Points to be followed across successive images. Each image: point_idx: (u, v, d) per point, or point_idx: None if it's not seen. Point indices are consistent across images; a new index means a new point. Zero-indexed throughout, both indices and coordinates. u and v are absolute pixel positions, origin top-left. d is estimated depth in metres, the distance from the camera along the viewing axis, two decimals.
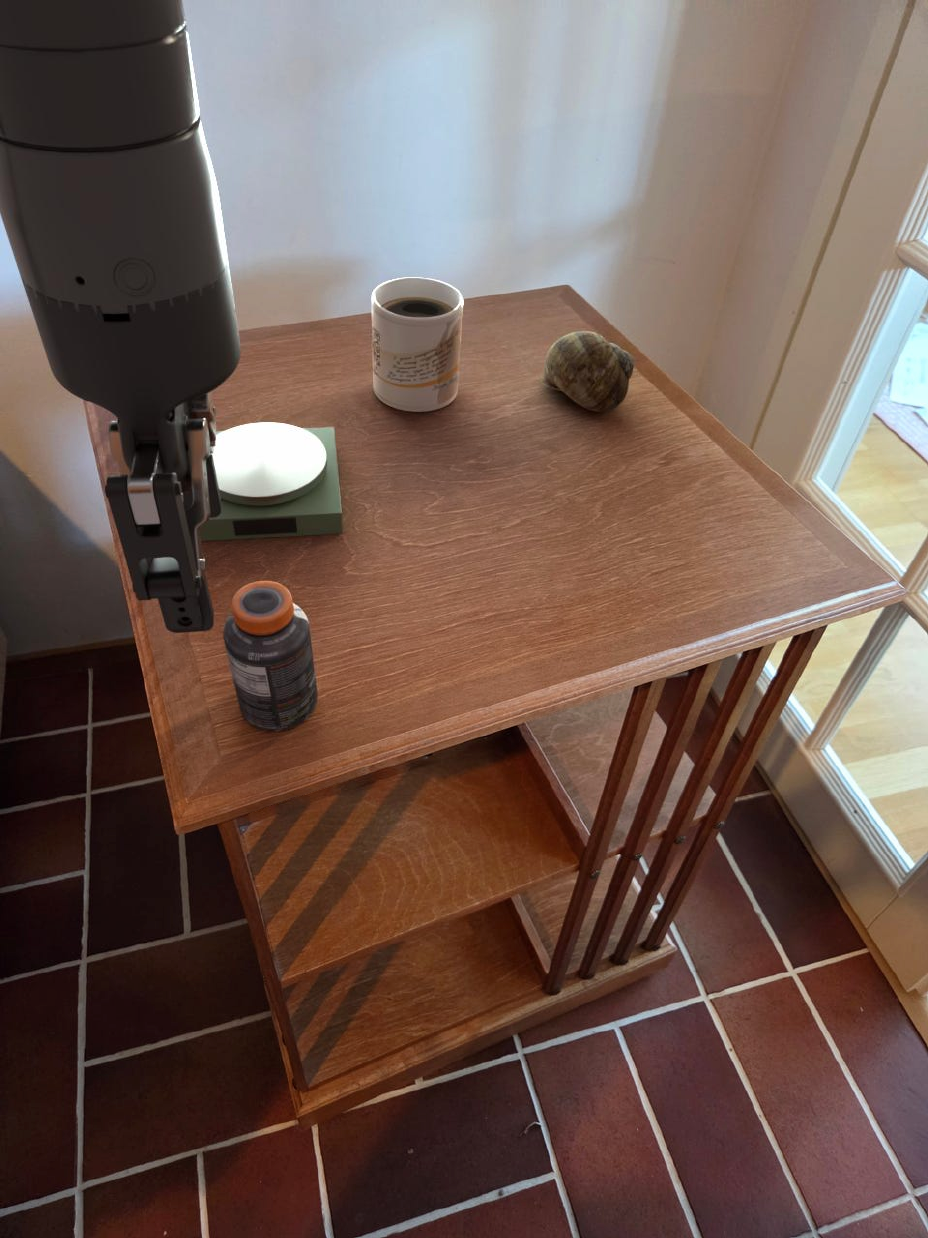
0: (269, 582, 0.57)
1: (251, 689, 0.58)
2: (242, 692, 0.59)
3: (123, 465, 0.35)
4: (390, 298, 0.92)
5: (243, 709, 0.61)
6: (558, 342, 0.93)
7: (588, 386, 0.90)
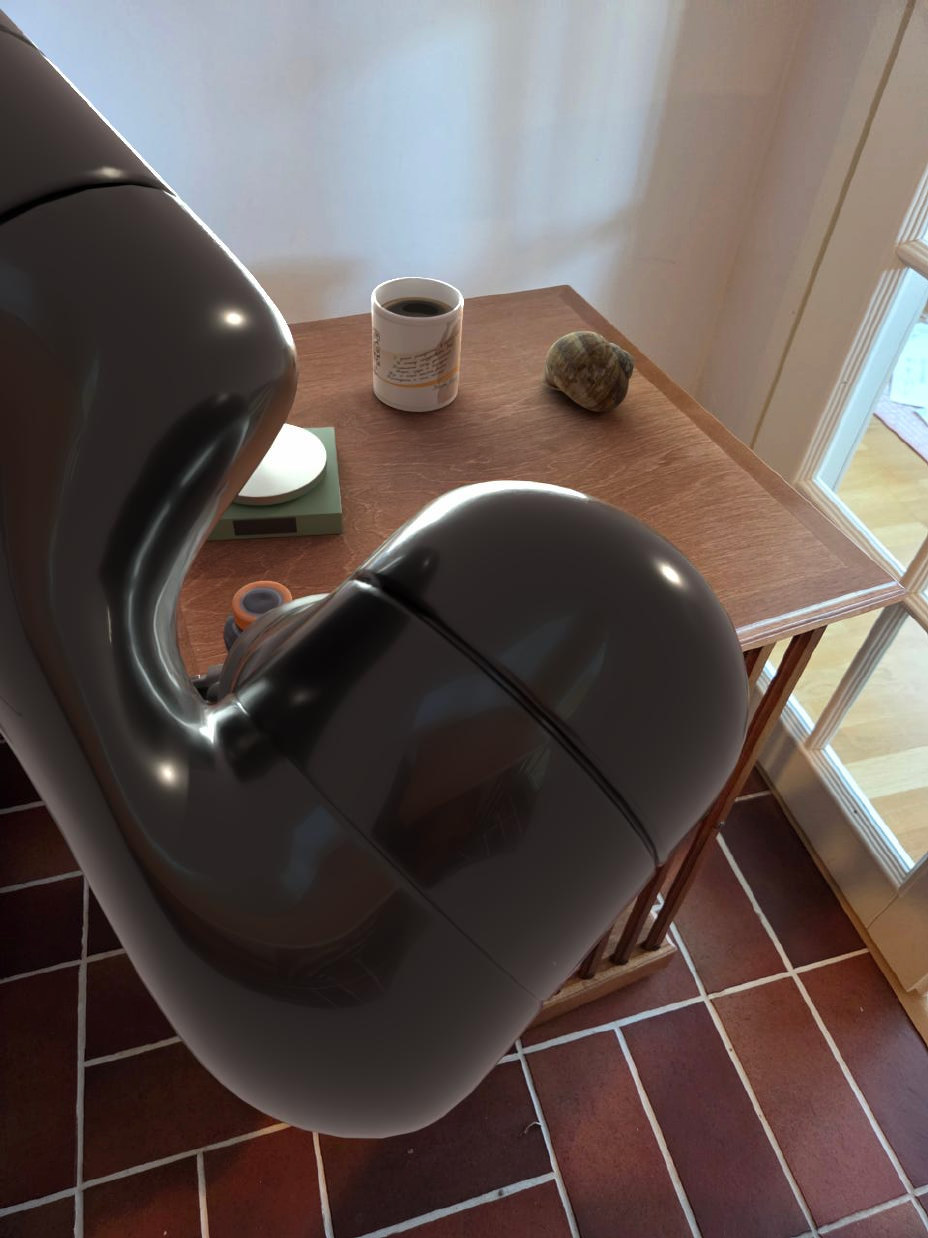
0: (269, 582, 0.57)
1: None
2: None
3: None
4: (390, 298, 0.92)
5: None
6: (558, 342, 0.93)
7: (588, 386, 0.90)
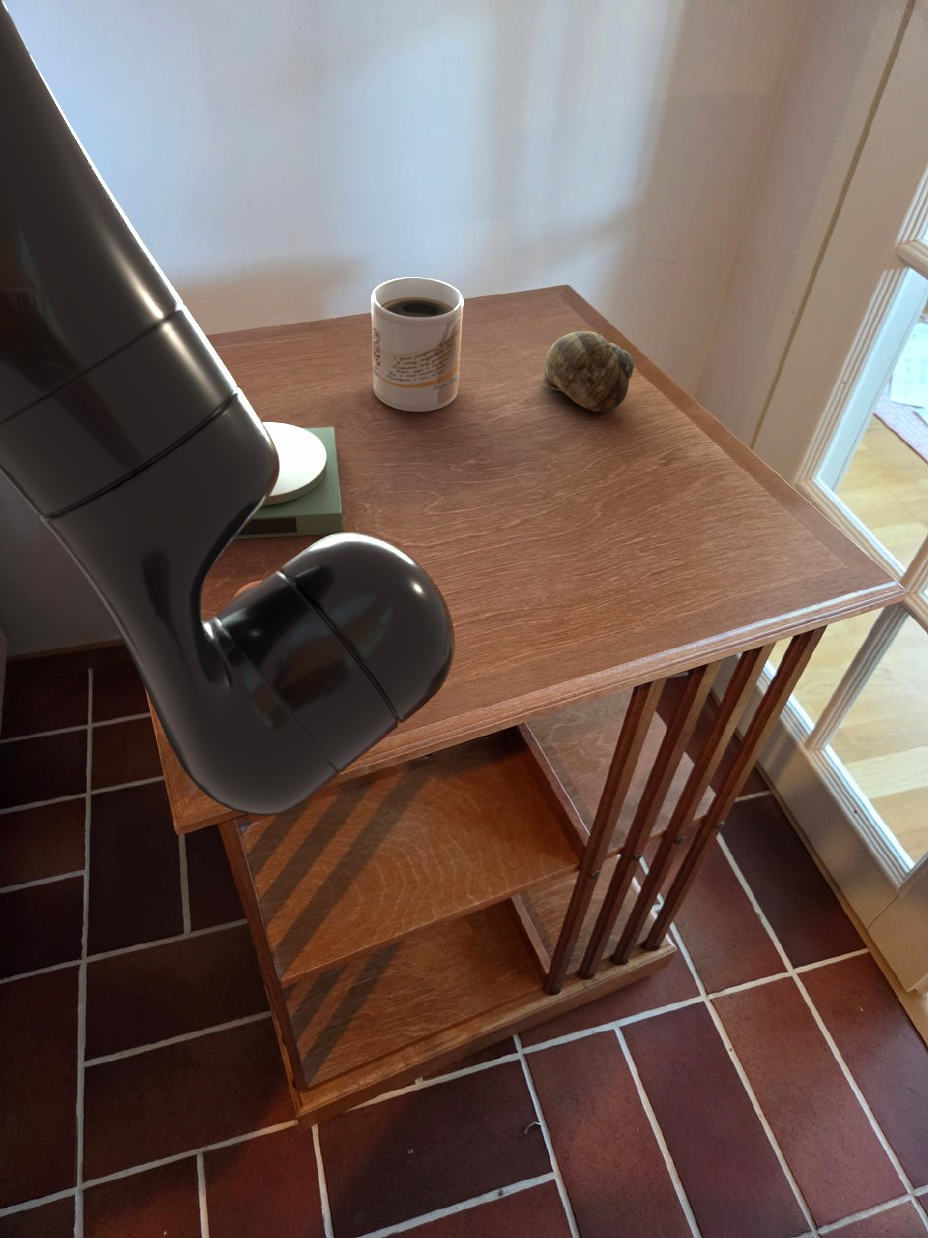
0: None
1: None
2: None
3: None
4: (390, 298, 0.92)
5: None
6: (558, 342, 0.93)
7: (588, 386, 0.90)
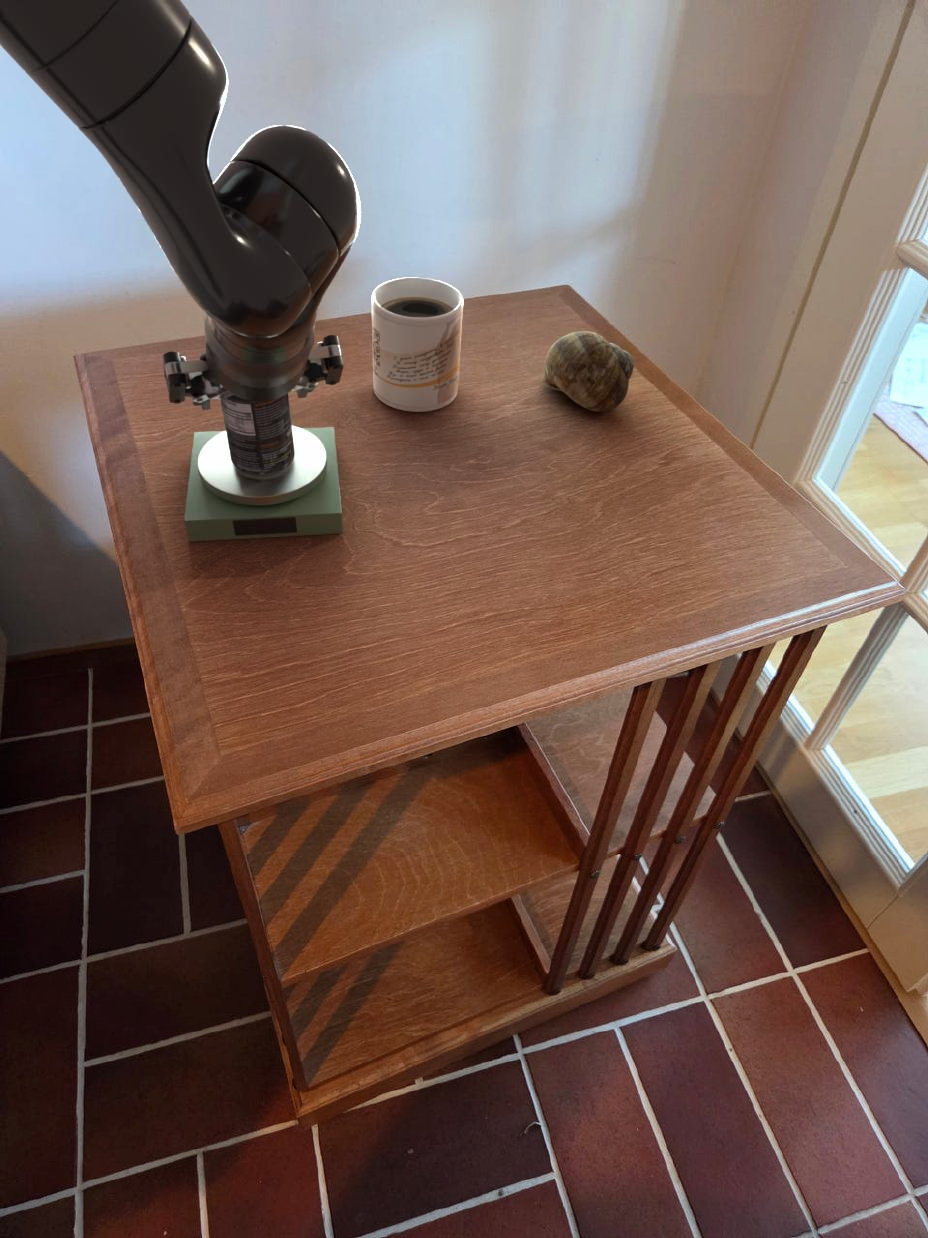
0: None
1: (240, 428, 0.73)
2: (232, 434, 0.74)
3: None
4: (390, 298, 0.92)
5: (234, 455, 0.76)
6: (558, 342, 0.93)
7: (588, 386, 0.90)
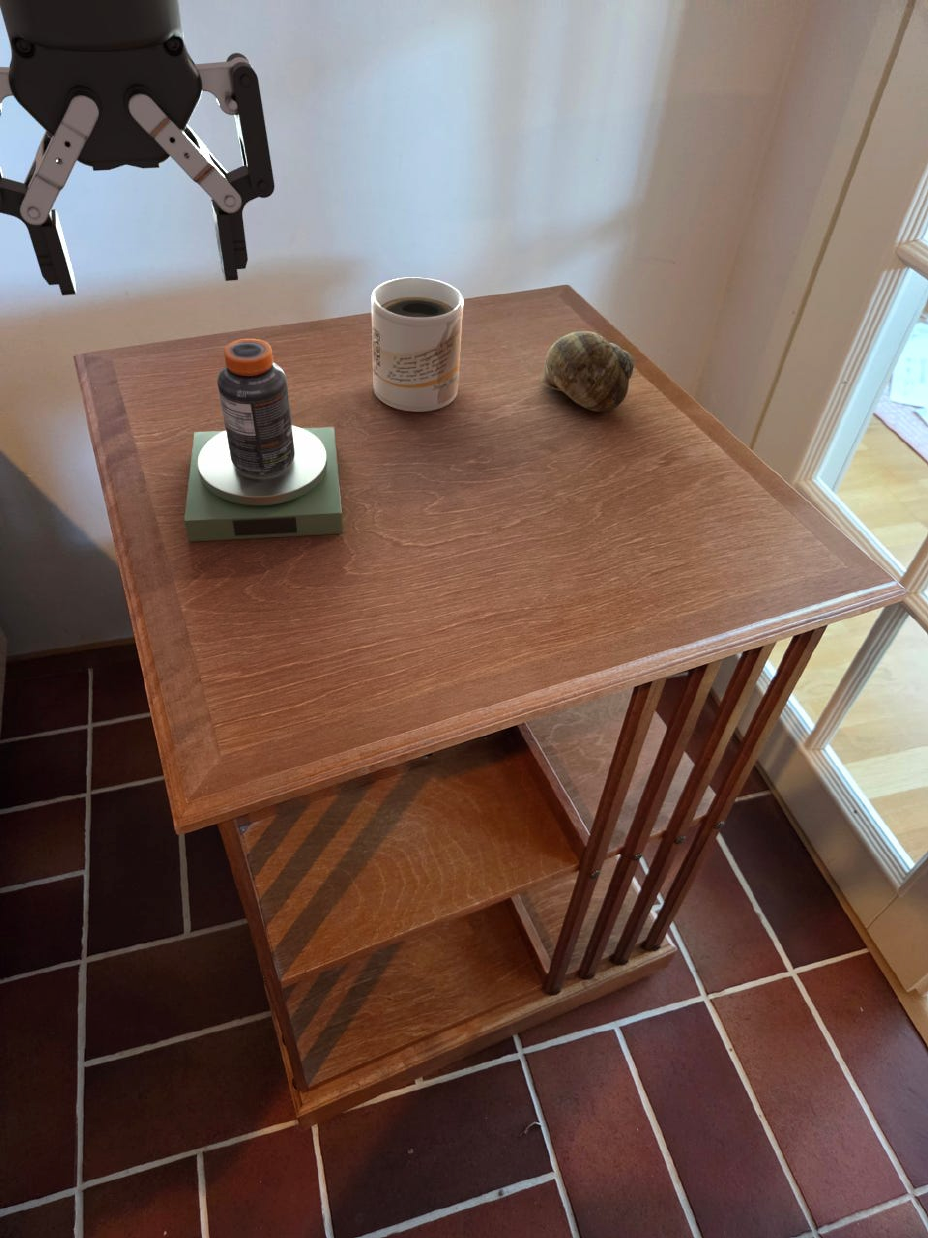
0: (254, 339, 0.72)
1: (240, 428, 0.73)
2: (232, 434, 0.74)
3: None
4: (390, 298, 0.92)
5: (234, 455, 0.76)
6: (558, 342, 0.93)
7: (588, 386, 0.90)
